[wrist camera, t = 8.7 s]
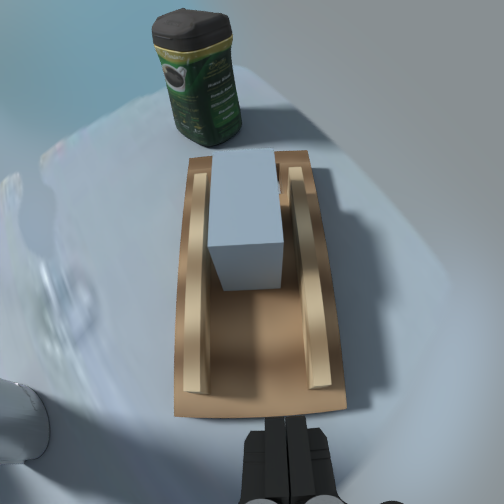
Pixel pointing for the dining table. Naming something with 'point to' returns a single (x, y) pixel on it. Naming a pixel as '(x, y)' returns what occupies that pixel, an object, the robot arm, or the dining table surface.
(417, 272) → the dining table surface
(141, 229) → the dining table surface
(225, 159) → the block
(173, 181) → the dining table surface
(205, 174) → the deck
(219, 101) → the coffee jar
